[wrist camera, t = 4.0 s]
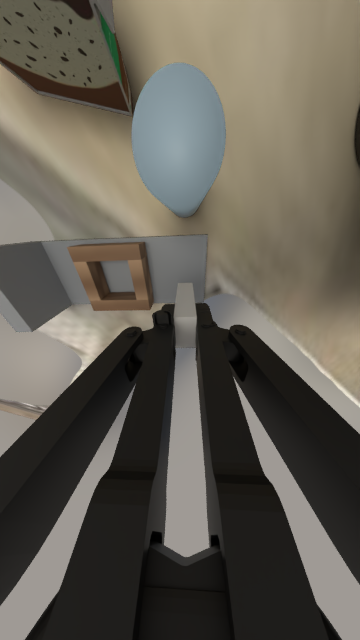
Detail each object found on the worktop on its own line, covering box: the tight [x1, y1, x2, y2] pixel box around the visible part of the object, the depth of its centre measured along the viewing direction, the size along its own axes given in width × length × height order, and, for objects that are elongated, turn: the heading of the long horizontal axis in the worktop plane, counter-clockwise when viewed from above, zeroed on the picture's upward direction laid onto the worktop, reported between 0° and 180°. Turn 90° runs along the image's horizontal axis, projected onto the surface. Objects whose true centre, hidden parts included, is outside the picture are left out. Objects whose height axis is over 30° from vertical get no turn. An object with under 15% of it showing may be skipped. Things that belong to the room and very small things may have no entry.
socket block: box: [67, 242, 154, 311], centre depth 21 cm, size 9×9×3 cm
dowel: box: [132, 63, 226, 218], centre depth 12 cm, size 4×4×14 cm
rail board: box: [0, 234, 208, 332], centre depth 20 cm, size 10×26×9 cm, turn 92°
